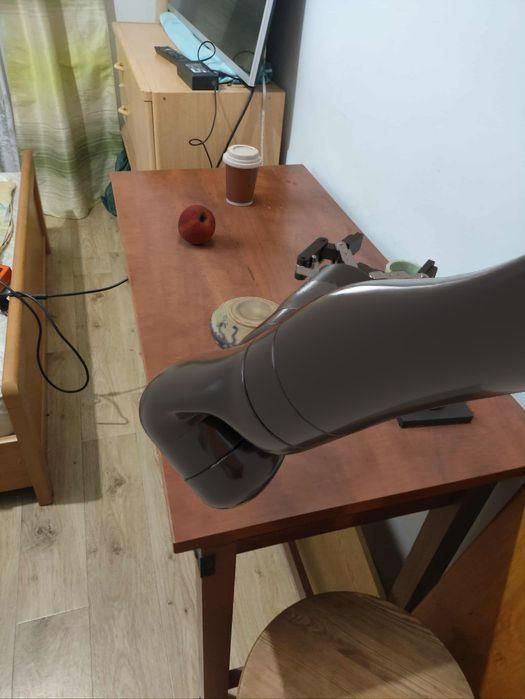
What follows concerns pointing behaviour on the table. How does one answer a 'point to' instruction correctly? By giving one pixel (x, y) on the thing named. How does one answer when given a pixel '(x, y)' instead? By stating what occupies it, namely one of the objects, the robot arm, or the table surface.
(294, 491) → the table surface
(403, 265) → the cup
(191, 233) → the apple
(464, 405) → the panel
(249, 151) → the coffee cup
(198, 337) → the table surface
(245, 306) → the decorative bowl
